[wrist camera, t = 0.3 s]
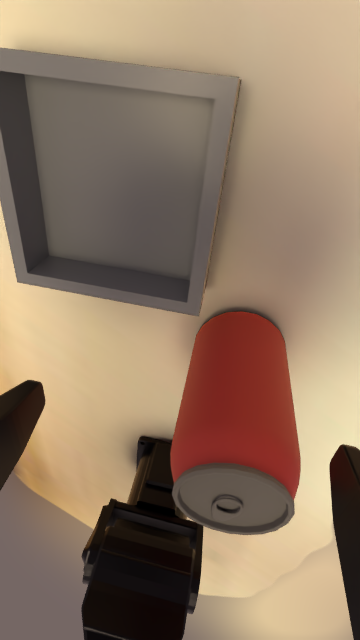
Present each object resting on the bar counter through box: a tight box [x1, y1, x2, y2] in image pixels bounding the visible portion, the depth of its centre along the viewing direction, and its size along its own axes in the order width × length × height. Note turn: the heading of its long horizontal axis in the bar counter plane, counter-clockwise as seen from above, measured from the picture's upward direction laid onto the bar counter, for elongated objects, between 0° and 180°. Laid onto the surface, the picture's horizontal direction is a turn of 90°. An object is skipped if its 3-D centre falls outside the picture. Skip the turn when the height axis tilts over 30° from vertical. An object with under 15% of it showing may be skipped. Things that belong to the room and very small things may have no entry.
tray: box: [0, 48, 241, 316], centre depth 18 cm, size 12×12×4 cm
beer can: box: [170, 311, 300, 535], centre depth 20 cm, size 7×7×12 cm
